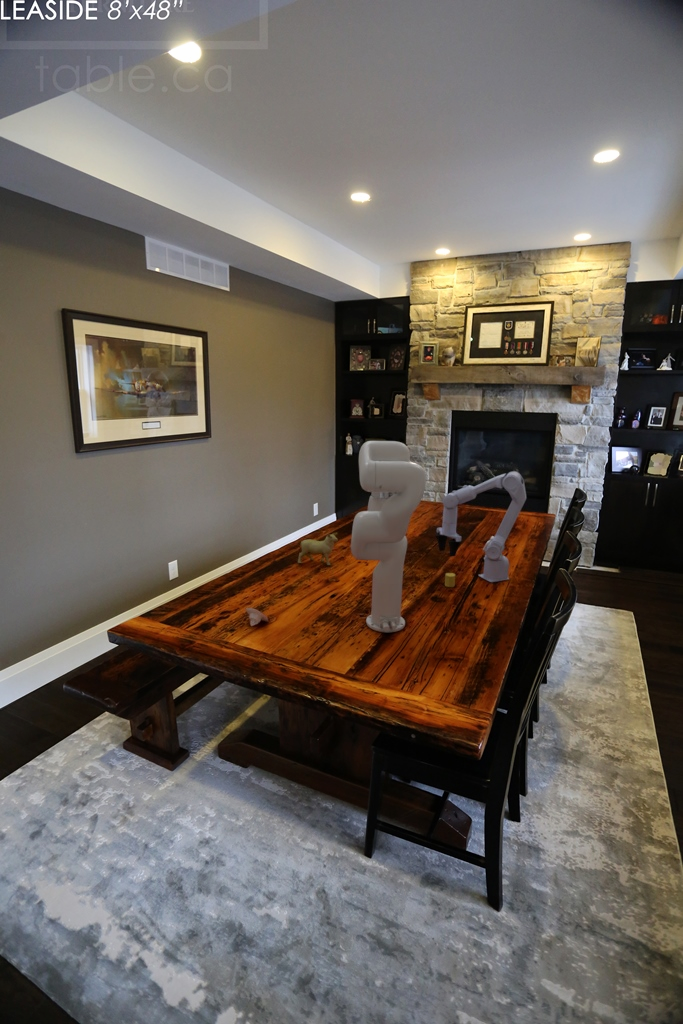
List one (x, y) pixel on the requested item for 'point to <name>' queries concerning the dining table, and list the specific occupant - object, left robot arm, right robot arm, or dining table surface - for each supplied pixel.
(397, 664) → the dining table surface
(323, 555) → the toy
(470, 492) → the right robot arm
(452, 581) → the tin
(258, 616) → the seashell
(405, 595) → the dining table surface
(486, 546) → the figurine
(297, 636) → the dining table surface
